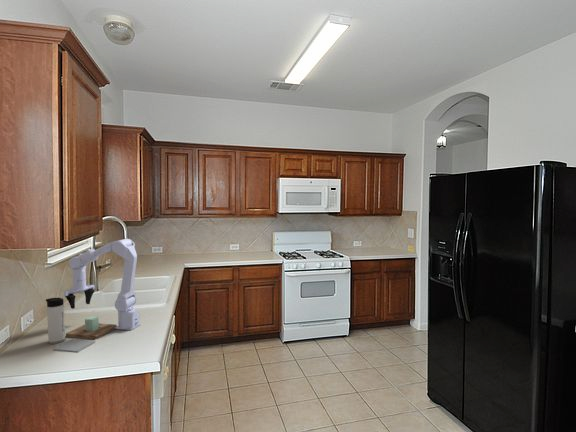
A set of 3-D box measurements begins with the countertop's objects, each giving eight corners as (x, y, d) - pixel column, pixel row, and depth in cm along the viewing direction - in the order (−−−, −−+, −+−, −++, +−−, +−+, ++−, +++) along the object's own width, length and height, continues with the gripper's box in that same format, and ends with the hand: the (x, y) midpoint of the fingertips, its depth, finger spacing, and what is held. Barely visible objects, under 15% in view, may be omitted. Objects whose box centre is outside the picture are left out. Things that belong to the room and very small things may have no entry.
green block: (98, 330, 167) (98, 316, 166) (92, 334, 163) (92, 319, 162) (91, 330, 167) (91, 316, 167) (85, 333, 164) (84, 319, 163)
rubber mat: (95, 342, 154) (95, 341, 154) (78, 352, 144) (77, 351, 144) (72, 340, 156) (72, 339, 156) (53, 350, 146) (53, 348, 146)
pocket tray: (116, 327, 171) (116, 324, 171) (96, 339, 157) (96, 336, 157) (88, 325, 173) (88, 322, 173) (66, 336, 160) (65, 333, 160)
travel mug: (45, 341, 154) (43, 298, 153) (62, 337, 159) (60, 295, 158) (50, 345, 150) (48, 301, 149) (67, 340, 155) (65, 297, 154)
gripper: (88, 275, 181) (89, 301, 182) (59, 282, 168) (60, 309, 169) (96, 277, 178) (97, 302, 179) (67, 283, 165) (69, 311, 166)
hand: (80, 306), depth 174 cm, fingers open, 7 cm apart
